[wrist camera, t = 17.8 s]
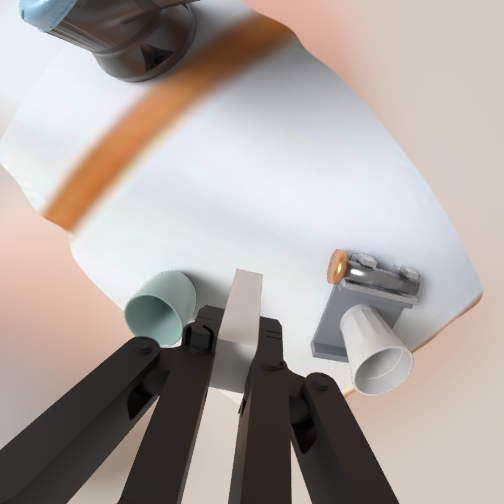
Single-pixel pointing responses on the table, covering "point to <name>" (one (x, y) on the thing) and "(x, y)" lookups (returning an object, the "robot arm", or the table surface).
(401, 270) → the lug rail
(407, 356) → the cup
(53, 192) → the table surface
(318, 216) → the table surface
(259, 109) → the table surface
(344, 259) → the lock pin
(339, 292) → the dock
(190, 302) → the cup
